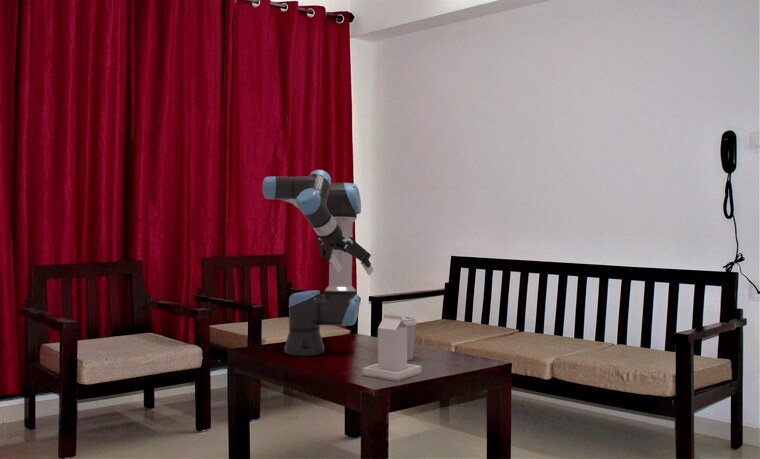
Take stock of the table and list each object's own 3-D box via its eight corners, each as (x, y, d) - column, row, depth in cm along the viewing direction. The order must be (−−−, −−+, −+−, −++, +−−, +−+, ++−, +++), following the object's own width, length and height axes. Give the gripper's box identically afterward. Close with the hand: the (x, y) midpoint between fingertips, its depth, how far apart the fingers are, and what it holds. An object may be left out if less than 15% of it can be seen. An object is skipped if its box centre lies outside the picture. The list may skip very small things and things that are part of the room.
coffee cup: (414, 361, 267) (414, 320, 266) (388, 360, 269) (388, 319, 268) (418, 356, 276) (418, 316, 276) (393, 355, 278) (393, 315, 278)
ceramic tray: (362, 375, 246) (362, 367, 246) (387, 367, 257) (387, 360, 257) (397, 381, 238) (397, 373, 238) (421, 373, 249) (421, 365, 249)
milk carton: (395, 375, 242) (395, 317, 242) (377, 372, 246) (377, 315, 246) (407, 371, 248) (407, 314, 247) (389, 368, 252) (389, 313, 252)
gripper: (293, 236, 248) (322, 277, 261) (352, 238, 234) (380, 281, 246) (303, 219, 252) (332, 261, 265) (362, 221, 238) (389, 264, 251)
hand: (355, 271), depth 256 cm, fingers open, 13 cm apart
